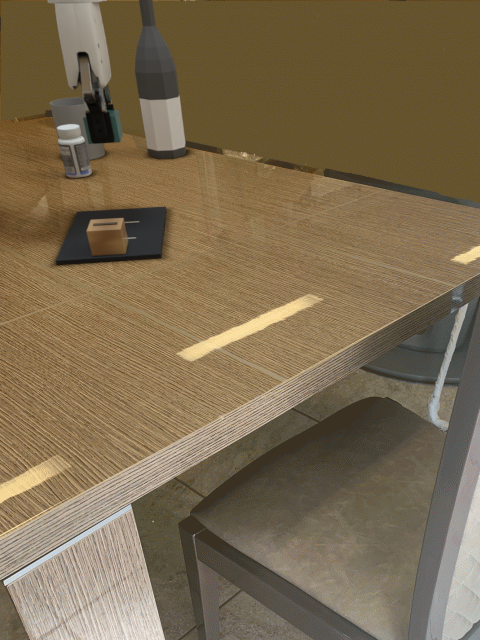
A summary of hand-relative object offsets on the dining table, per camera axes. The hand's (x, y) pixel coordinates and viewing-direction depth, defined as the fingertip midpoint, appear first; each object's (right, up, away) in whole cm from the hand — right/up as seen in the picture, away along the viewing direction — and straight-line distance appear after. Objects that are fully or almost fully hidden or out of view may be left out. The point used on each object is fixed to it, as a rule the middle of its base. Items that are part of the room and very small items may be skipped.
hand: (105, 136), depth 94 cm
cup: (-17, +13, +37) cm, 43 cm away
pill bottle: (-14, +5, +26) cm, 30 cm away
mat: (+1, -14, +2) cm, 14 cm away
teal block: (0, 0, 0) cm, 0 cm away
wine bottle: (0, +13, +38) cm, 40 cm away
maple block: (+2, -18, -4) cm, 18 cm away
